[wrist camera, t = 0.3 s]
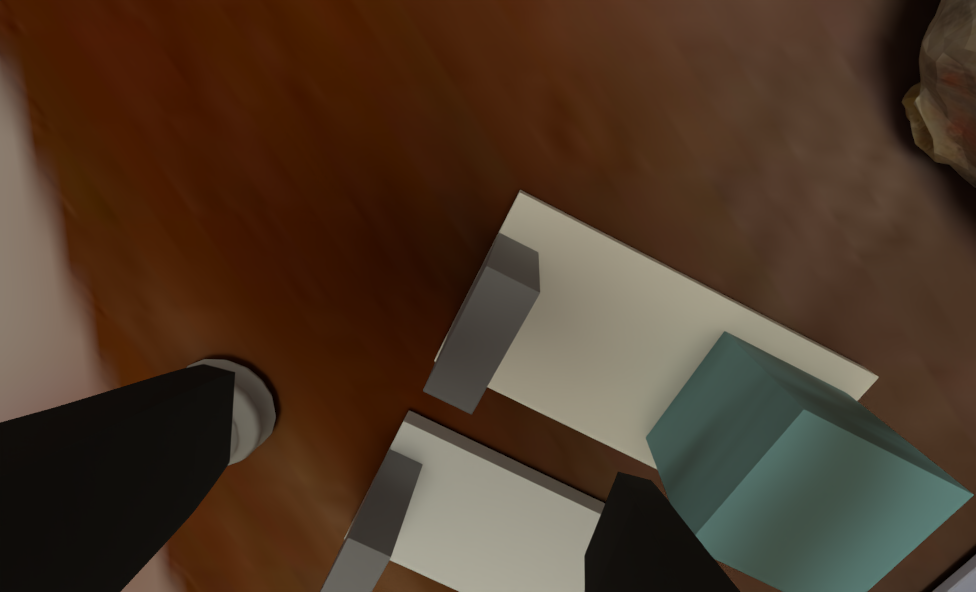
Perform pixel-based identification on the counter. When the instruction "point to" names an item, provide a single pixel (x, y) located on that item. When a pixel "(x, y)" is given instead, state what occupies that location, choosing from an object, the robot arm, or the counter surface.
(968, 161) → the seashell
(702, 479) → the teal block
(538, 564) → the cream and grey bookend
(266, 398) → the rook chess piece
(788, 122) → the counter surface
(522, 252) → the cream strip
